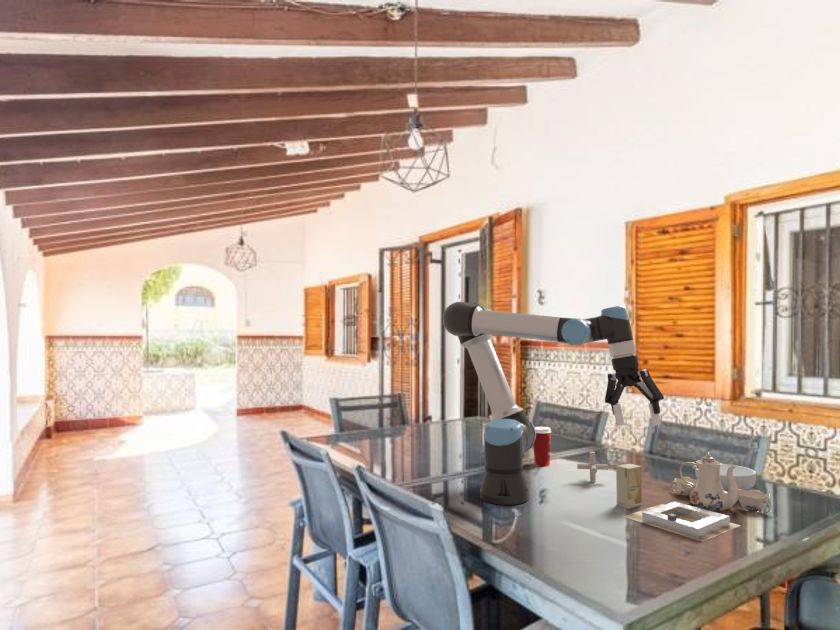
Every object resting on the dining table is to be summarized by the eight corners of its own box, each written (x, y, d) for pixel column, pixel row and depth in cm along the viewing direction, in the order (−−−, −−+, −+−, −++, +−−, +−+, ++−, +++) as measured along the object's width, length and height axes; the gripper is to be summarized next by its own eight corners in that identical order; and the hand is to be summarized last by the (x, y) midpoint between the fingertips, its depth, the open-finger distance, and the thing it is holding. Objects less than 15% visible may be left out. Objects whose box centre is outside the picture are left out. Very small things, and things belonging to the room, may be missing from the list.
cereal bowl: (747, 485, 179) (746, 464, 179) (764, 501, 163) (763, 477, 163) (690, 482, 184) (690, 461, 184) (701, 497, 168) (701, 474, 168)
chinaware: (778, 517, 154) (778, 457, 155) (761, 527, 142) (761, 461, 144) (675, 497, 174) (676, 443, 176) (653, 503, 162) (654, 446, 164)
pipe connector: (610, 486, 181) (609, 455, 181) (578, 485, 183) (578, 455, 183) (606, 478, 190) (605, 449, 191) (576, 477, 192) (575, 448, 193)
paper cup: (556, 465, 209) (555, 428, 209) (539, 467, 206) (538, 430, 206) (544, 461, 216) (543, 425, 216) (527, 463, 213) (527, 427, 214)
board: (703, 545, 131) (703, 541, 131) (623, 520, 149) (623, 516, 149) (740, 529, 141) (740, 525, 141) (661, 507, 159) (661, 503, 159)
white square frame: (698, 539, 132) (697, 524, 132) (642, 521, 145) (642, 508, 145) (729, 525, 141) (729, 512, 141) (674, 510, 153) (674, 497, 153)
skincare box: (629, 512, 155) (628, 468, 155) (616, 508, 159) (615, 465, 159) (643, 508, 159) (641, 465, 159) (630, 504, 162) (628, 462, 163)
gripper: (666, 349, 160) (682, 422, 158) (601, 358, 181) (614, 422, 179) (649, 353, 156) (665, 427, 154) (585, 361, 178) (598, 427, 175)
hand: (638, 425), depth 167 cm, fingers open, 13 cm apart
